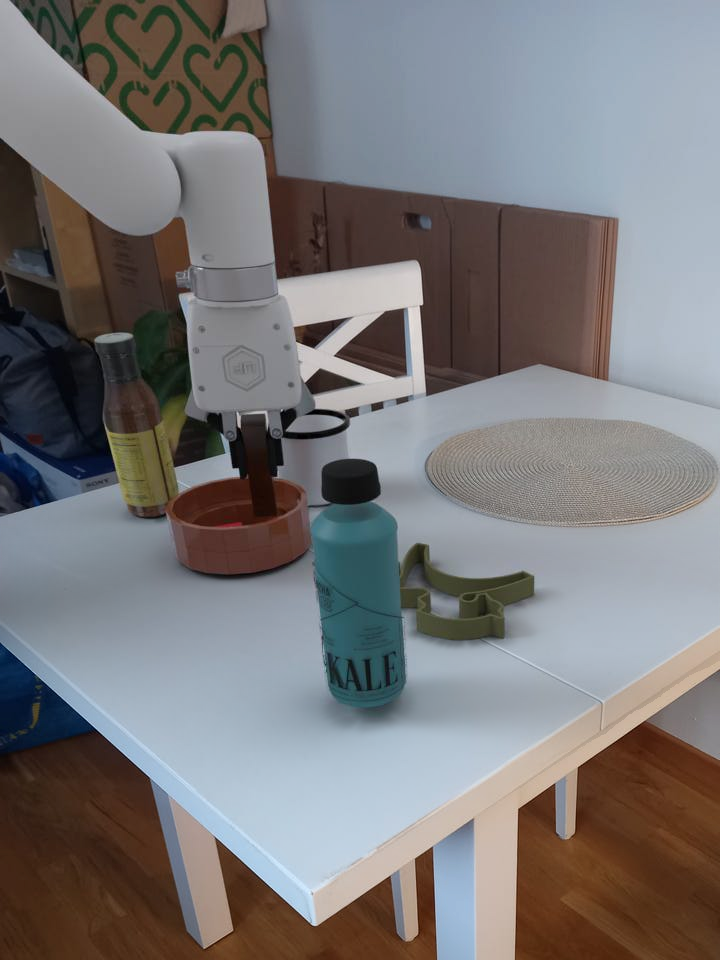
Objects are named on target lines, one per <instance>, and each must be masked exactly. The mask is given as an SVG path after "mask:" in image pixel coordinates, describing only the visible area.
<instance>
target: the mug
mask: <svg viewBox="0 0 720 960" xmlns="http://www.w3.org/2000/svg"><path fill="white" fill-rule="evenodd" d="M268 426H269V421H268V422H267V427H268ZM350 426H351V419H350V416H349V415H347V414H346V413H344V412H342V411H339V410H335V409H329V408H315V409H314V410H312V411H311V412H309V413H307V414H305V415H303V416H301V417H298V418H296V419H295V421H294V422H293V423H292V424H291V425H290V426H289V427H288V428H287V429H286V431H285V432H284V433H283V435H282V437H281V441H282V450H283V460H284V466H278V476H279V477H278V478H279V479H284V480H288V481H291V482H293V483H295V484H298V485H300V486H301V487H302V488H303V489H304V490H305V491H306V492H307V500H308V507H319V506H320V507H321V506H327V505H332V504H333V503H330V502H328V501H326V500H324V499H323V498H322V493H321V486H322V478H321V472H322V468H323V467H324V466H325V465H326V464H328V463H330V462H333V461H336V460H341V459H350V458H349V447H348V439H347V438H348V437H347V429H348V428H349V427H350Z"/></svg>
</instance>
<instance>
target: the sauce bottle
mask: <svg viewBox="0 0 720 960" xmlns="http://www.w3.org/2000/svg"><path fill="white" fill-rule="evenodd" d="M93 341H94V348H95V353H97V355H98V356H99V361H100V364H101V367H102V372H103V375H102V376H103V379H104V399H103V407H102V422H103V424H104V429H105V433H106V436H107V440H108V443H109V448H110V451H111V452H110V453H111V455H112V460H113V463H114V467H115V471H116V475H117V479H118V482H119V487H120V491H121V495H122V499H123V501H124V503H125V504H126V507H127V509H128V511H129V512H130V514H132V515H134V516H136V517H141V518H156V517H160V516H163V515H166V508H167V505H168V502H169V501H170V500H171V499H172V498H174V497H175V496H176V495H177V494H179V493H180V488H179V484H178V479H177V475H176V474H177V473H176V470H175V466H174V460H173V457H172V452H171V448H170V443H169V440H168V435H167V430H166V426H165V421H164V418H163V416H162V412H161V409H160V404H159V399H158V397H157V395H156V394H155V393H154V391H153V389H152V387H151V386H150V385H149V384H148V383H147V382H146V381H145V380H144V379H143V378H142V370H141V369H140V366H139V361H138V357H137V353H136V350H137V343H136V339H135V337H134V334H132V333H129V332H112V333H105V334H102V335H101V334H100V335H99V336H96V338H94V340H93Z"/></svg>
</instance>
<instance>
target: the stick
mask: <svg viewBox="0 0 720 960" xmlns="http://www.w3.org/2000/svg"><path fill="white" fill-rule="evenodd" d="M240 428H241V433H242V440H243V444H244V450H245V457H246V463H247V470H248V480H249V486H250V493H251V499H252V506H253V512H254V517H270V516H277V500H276V493H275V485H274V478H275V477H272V476H270V470H269V462H268V453H267V445H266V439H267V432H268V422H267V417H266V413H246V414H245V413H244V414H240Z"/></svg>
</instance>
